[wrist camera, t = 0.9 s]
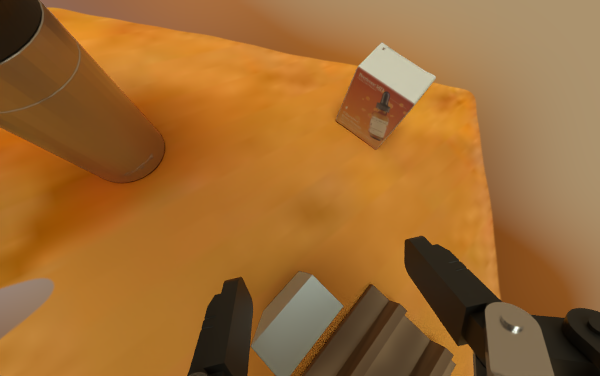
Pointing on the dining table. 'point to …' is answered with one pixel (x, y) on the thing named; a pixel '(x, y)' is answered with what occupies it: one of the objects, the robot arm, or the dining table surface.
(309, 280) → the grey rectangular block
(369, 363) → the rack
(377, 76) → the small box
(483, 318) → the robot arm
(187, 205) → the dining table surface
